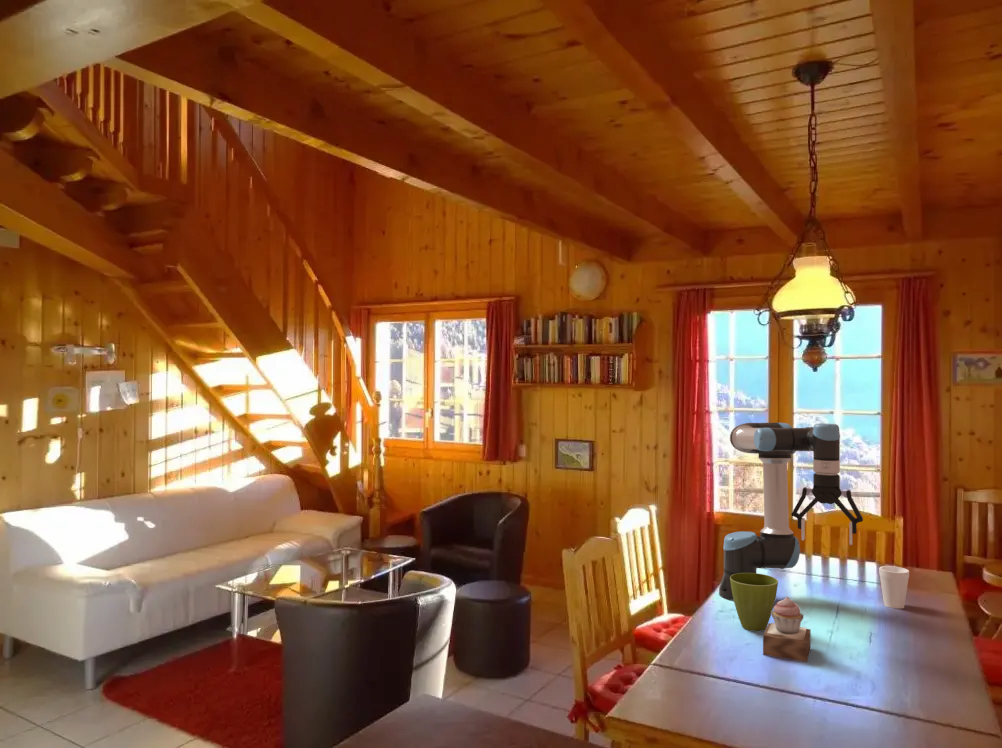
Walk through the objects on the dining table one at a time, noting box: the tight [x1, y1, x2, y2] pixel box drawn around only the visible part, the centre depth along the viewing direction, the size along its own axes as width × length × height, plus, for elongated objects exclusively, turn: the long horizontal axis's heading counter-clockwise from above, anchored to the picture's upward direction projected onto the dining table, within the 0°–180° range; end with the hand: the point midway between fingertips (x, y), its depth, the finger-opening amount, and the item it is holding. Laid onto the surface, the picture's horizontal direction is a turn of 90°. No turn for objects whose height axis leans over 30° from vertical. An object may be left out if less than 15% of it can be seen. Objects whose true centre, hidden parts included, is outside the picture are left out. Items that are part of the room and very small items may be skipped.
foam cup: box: [878, 565, 910, 610], centre depth 262 cm, size 10×9×13 cm
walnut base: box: [762, 622, 812, 663], centre depth 219 cm, size 12×12×6 cm
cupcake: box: [771, 596, 805, 634], centre depth 219 cm, size 9×9×10 cm
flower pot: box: [730, 572, 779, 632], centre depth 240 cm, size 15×15×16 cm
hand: (826, 541), depth 228 cm, fingers open, 13 cm apart
